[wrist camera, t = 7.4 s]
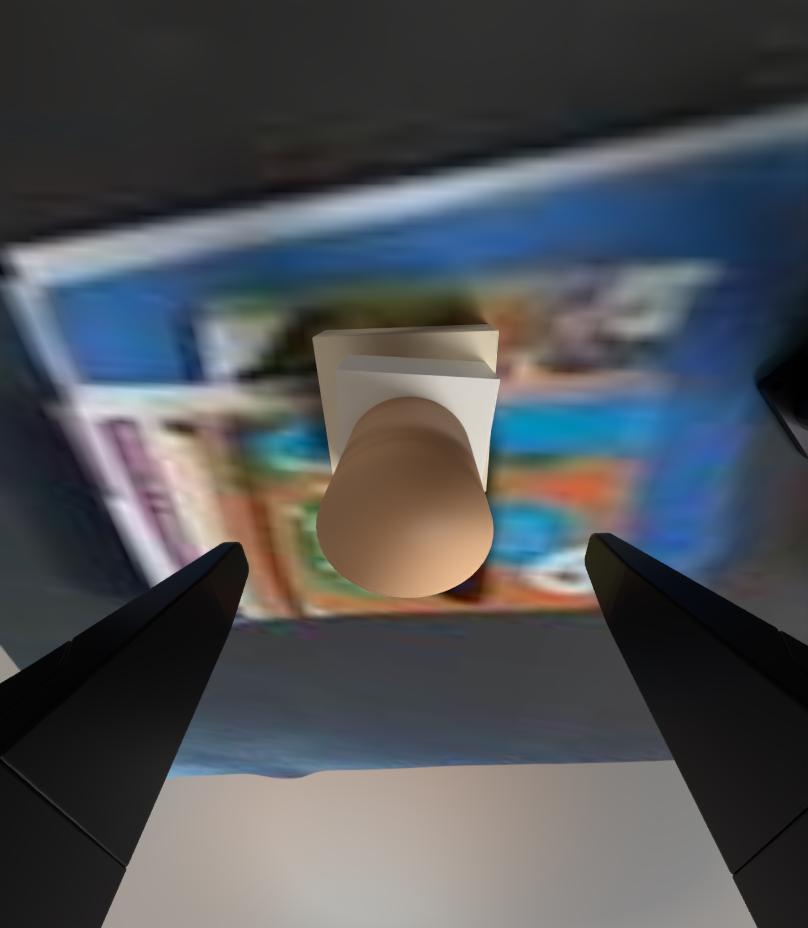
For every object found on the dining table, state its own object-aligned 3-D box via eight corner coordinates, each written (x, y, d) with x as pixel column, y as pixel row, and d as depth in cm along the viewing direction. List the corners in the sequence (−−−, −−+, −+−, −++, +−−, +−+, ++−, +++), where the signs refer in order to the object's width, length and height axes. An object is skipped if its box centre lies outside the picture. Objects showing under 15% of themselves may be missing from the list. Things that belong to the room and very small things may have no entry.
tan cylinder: (496, 454, 14) (530, 535, 10) (411, 524, 16) (408, 619, 12) (405, 368, 13) (398, 419, 8) (323, 457, 15) (281, 536, 10)
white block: (485, 362, 15) (500, 379, 13) (467, 479, 18) (475, 513, 16) (349, 353, 15) (336, 369, 13) (351, 472, 18) (341, 505, 16)
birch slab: (486, 323, 18) (498, 330, 15) (477, 464, 21) (485, 491, 19) (327, 328, 18) (312, 337, 15) (345, 467, 22) (335, 493, 19)
